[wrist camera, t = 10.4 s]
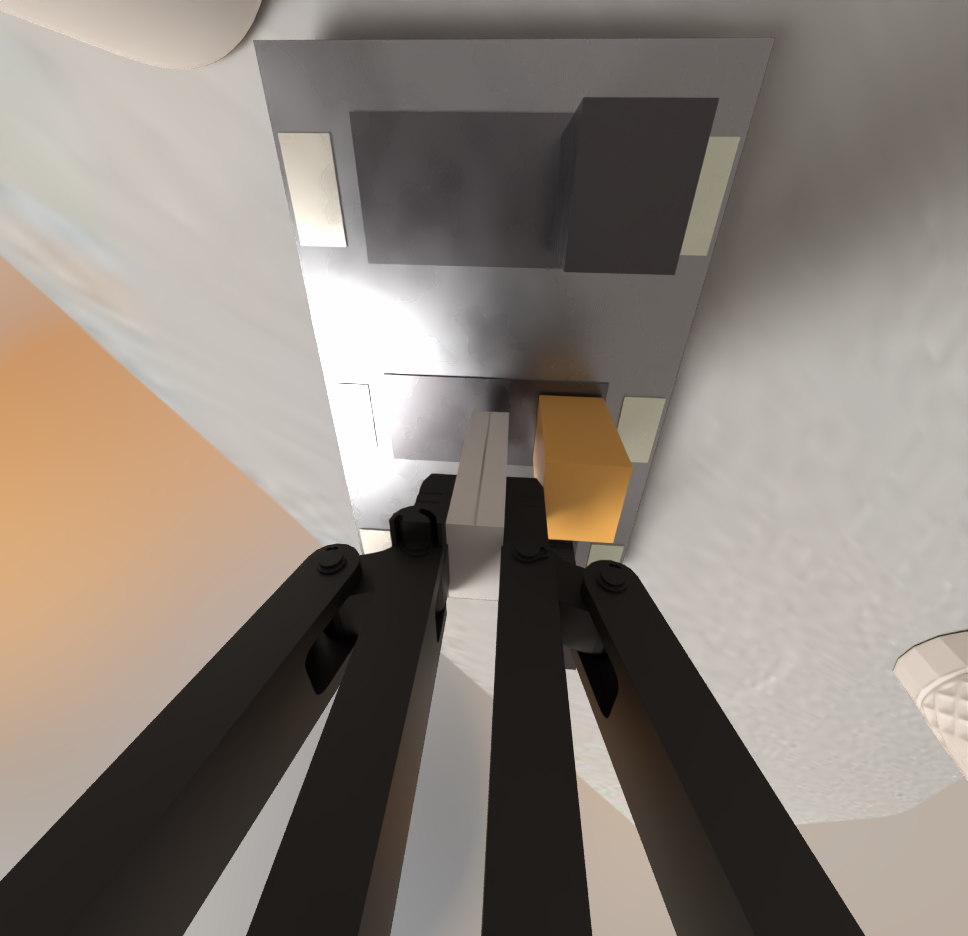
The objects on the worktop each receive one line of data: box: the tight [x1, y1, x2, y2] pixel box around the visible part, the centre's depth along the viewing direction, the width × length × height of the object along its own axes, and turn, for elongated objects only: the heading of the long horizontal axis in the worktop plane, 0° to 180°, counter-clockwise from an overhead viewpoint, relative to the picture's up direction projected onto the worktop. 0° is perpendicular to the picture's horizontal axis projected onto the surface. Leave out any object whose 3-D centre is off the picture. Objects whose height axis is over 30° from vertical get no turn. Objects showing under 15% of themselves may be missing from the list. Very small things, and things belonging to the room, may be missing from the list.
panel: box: [253, 38, 775, 670], centre depth 16 cm, size 23×14×8 cm, turn 179°
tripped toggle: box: [533, 395, 633, 543], centre depth 15 cm, size 3×2×5 cm
